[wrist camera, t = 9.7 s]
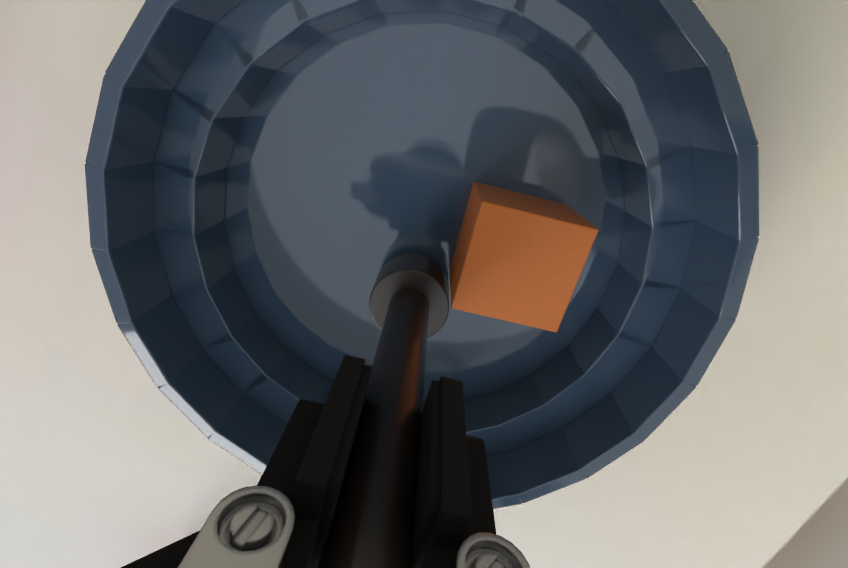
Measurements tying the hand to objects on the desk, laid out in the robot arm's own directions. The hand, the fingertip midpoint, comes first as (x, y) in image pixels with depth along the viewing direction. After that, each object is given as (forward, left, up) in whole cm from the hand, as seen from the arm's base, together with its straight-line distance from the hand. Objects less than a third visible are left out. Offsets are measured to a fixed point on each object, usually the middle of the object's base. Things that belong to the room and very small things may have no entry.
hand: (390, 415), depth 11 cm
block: (-3, -3, -9) cm, 10 cm away
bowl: (0, -2, -10) cm, 10 cm away
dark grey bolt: (0, 0, -9) cm, 9 cm away
